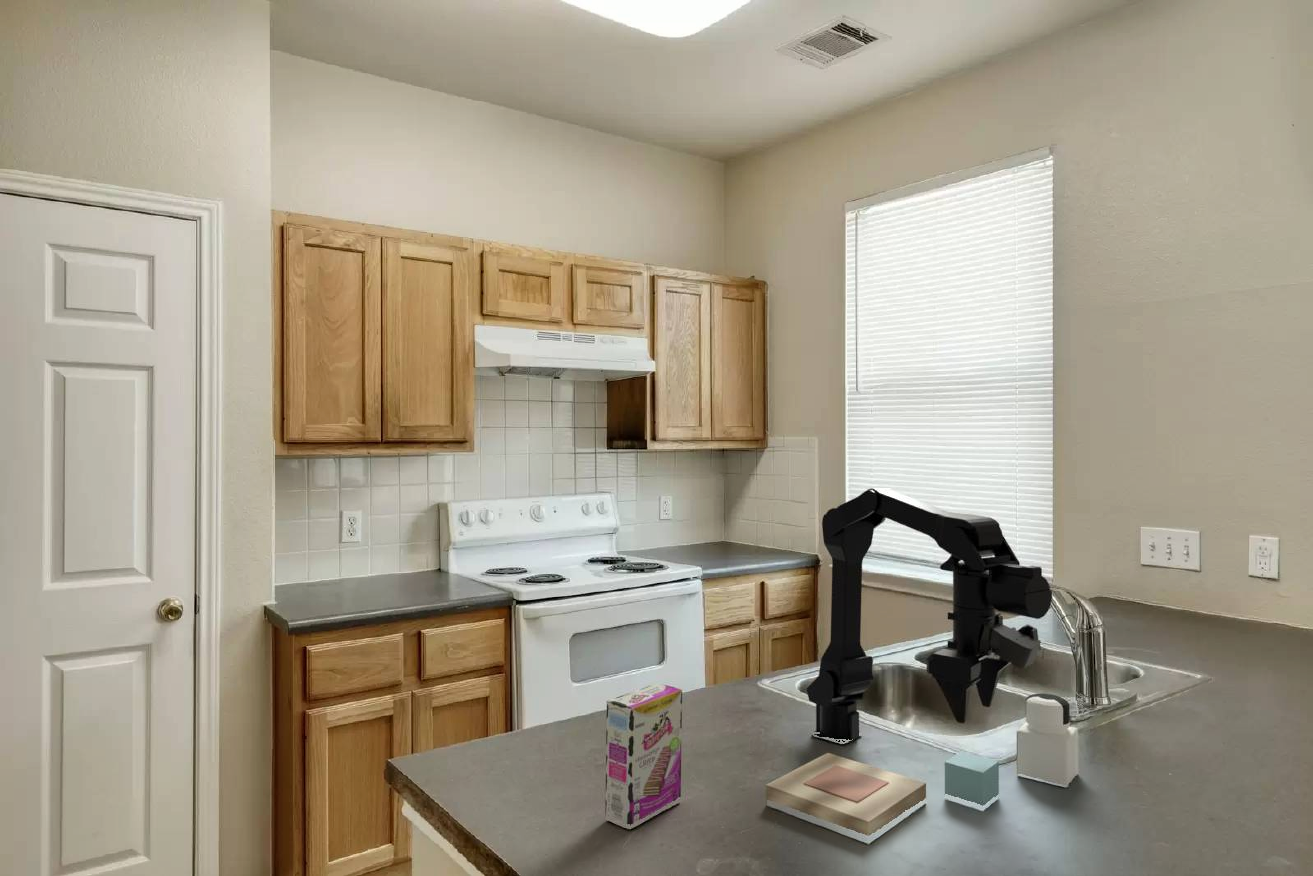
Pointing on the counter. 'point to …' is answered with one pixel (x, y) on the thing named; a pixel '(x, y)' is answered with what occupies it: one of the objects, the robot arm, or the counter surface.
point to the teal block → (972, 777)
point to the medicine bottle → (1047, 740)
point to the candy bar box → (643, 752)
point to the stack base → (847, 793)
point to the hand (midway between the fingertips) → (974, 714)
